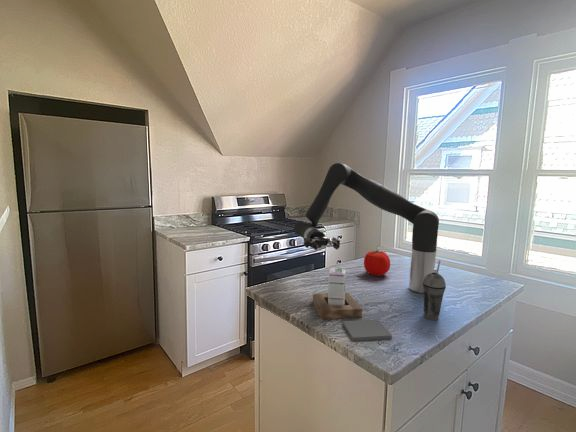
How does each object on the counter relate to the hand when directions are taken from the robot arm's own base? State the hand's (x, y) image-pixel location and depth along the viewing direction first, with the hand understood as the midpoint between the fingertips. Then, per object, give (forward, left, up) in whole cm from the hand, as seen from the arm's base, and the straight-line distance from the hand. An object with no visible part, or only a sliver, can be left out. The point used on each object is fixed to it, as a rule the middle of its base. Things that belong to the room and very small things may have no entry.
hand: (327, 247), depth 122 cm
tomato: (-31, -24, -20) cm, 44 cm away
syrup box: (-1, +11, -20) cm, 23 cm away
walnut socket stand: (-1, +11, -20) cm, 23 cm away
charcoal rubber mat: (-6, +27, -20) cm, 34 cm away
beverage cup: (-32, +20, -20) cm, 43 cm away
